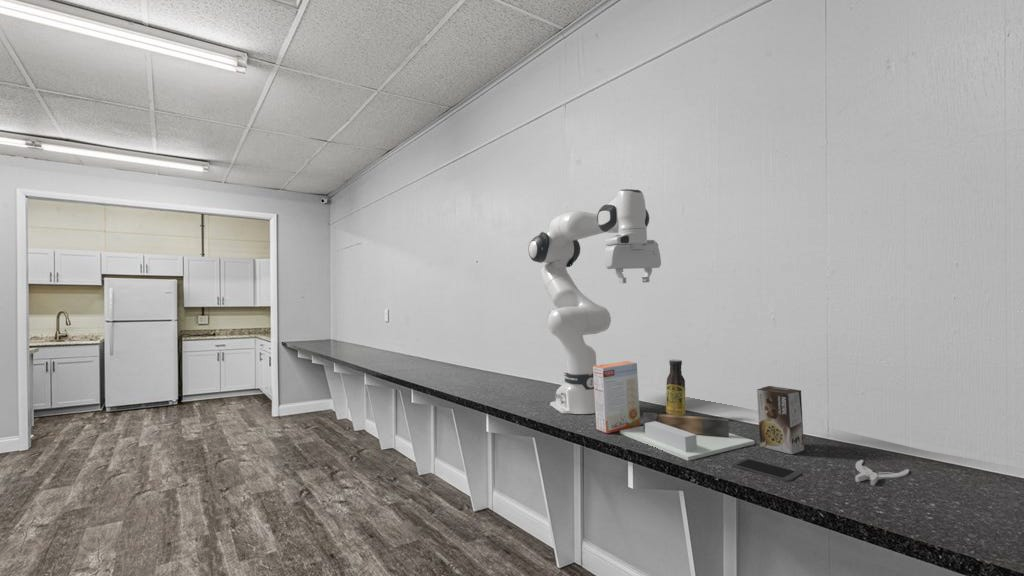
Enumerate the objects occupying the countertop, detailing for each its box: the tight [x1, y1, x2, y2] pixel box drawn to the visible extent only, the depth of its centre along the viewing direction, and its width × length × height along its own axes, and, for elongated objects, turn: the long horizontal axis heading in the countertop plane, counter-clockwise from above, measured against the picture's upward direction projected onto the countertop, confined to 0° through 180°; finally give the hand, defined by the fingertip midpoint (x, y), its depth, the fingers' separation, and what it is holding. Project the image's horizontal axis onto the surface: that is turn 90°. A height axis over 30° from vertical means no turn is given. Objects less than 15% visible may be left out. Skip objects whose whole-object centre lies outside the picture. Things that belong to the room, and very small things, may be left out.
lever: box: [642, 412, 730, 437], centre depth 145 cm, size 24×4×4 cm, turn 65°
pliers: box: [854, 459, 910, 486], centre depth 112 cm, size 10×2×15 cm
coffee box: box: [756, 385, 805, 455], centre depth 132 cm, size 9×6×16 cm
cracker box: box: [593, 361, 641, 434], centre depth 156 cm, size 14×6×21 cm, turn 117°
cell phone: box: [731, 457, 803, 483], centre depth 117 cm, size 7×14×1 cm, turn 37°
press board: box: [619, 421, 755, 462], centre depth 143 cm, size 28×25×5 cm
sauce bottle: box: [665, 359, 686, 416], centre depth 166 cm, size 6×6×20 cm
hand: (634, 282), depth 154 cm, fingers open, 8 cm apart
